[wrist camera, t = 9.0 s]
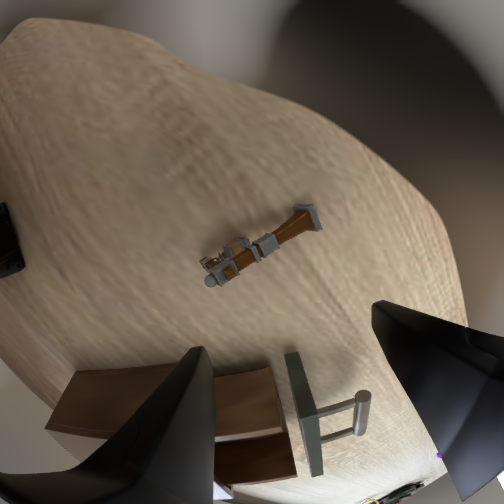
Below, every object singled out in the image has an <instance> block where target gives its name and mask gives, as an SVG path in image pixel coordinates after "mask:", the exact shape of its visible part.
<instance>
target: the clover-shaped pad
mask: <svg viewBox="0 0 504 504" xmlns="http://www.w3.org/2000/svg"><path fill="white" fill-rule="evenodd" d="M424 486H425V485H424V483H422V484H419V485H417V486H415V485H413V486H409V487H407V488H405V489H402V490H399V491H397V492H395V493H393V494H391V495H390V496H388V497H386V498H384V499H382V500H380V501H379V503H380V504H399V503H400V502H402V501H404V500H406V499H407V498H409V497H410V496H412V495H413V494H414V493H416V492H417V491H419V490H420V489H422V488H423V487H424Z"/></svg>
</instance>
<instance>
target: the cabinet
mask: <svg viewBox="0 0 504 504" xmlns="http://www.w3.org/2000/svg"><path fill="white" fill-rule="evenodd" d="M177 364H178V363H173V364H165V365H157V366H148V367H138V368H126V369H113V370H95V371H76V372H75V373H74V375H73V377H72V378H71V380H70V382H69V384H68V385H67V387H66V389H65V391H64V393H63V394H62V396H61V398H60V400H59V402H58V404H57V406H56V407H55V409H54V411H53V413H52V415H51V417H50V419H49V421H48V423H47V425H46V427H45V430H46V431H47V432H48V433H49V434H50V435H51V436H52V437H53V438H54V439H55V440H56V441H57V442H58V443H59V444H61V445H62V446H63V447H64V448H65V449H66V450H67V451H68V452H69V453H70V454H72V455H73V456H74V457H75V458H76V459H78V460H79V461H80V462H81V463H82V462H83V461H84V460H85V459H86V458H88V457H89V456H90V455H91V454H92V453H93V452H95V451H96V450H97V449H98V448H99V447H100V446H101V445H103V444H104V443H105V442H106V441H107V440H108V439H109V438H110V437H111V436H112V435H113V434H114V433H115V432H116V431H117V430H118V429H119V428H120V427H121V426H122V425H123V424H124V423H125V422H126V421H127V420H128V419H129V418H130V417H131V415H133V414H134V412H135V411H136V410H137V409H138V408H139V407H140V405H141V404H142V403H143V402H144V401H145V400H146V399H147V398H148V397H149V395H150V394H151V393H152V392H153V391H154V390H155V389H156V387H157V386H158V385H159V384H160V383H161V382H162V381H163V380H164V378H165V377H166V376H167V375H168V374H169V373H170V372H171V370H172V369H173V368H174V367H175V366H176V365H177ZM213 499H233V486H230V487H227V486H226V485H225V484H224V483H223V482H222V481H221V480H220V479H219V478H218V477H217V476H216V475H215V474H214V489H213Z"/></svg>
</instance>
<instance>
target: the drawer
mask: <svg viewBox="0 0 504 504" xmlns="http://www.w3.org/2000/svg"><path fill="white" fill-rule="evenodd" d="M284 357H285V361H286V366H287V370H288V375H289V380H290V384H291V389H292V394H293V398H294V403H295V408H296V412H297V417H298V422H299V426H300V431H301V435H302V439H303V443H304V448H305V452H306V456H307V460H308V464H309V469H310V473H311V477H316V476H320V475H323V461H322V449H321V444H322V443H326V442H329V441H333V440H336V439H339V438H342V437H346V436H349V435H352V434H354V435H355V436H361V435H363V434H364V433H365V432H366V428H367V423H368V416H369V410H370V403H371V393H370V392H369V391H367V390H360V391H358V392H357V393H356V394H355V399H354V398H352V399H349V400H346V401H343V402H340V403H337V404H334V405H330V406H327V407H323V408H320V409H316V405H315V402H314V399H313V396H312V393H311V390H310V387H309V383H308V380H307V377H306V374H305V371H304V368H303V365H302V362H301V358H300V355H299V352H295V353H291V354H287V355H285V356H284ZM214 387H215V400H216V424H215V451H214V474H215V475H216V476H217V477H218V478H219V479H220V480H221V481H222V482H223V483H224V484H225V485H226V486H227V487H230V486H242V485H252V484H260V483H267V482H273V481H279V480H285V479H290V478H295V477H297V471H296V466H295V462H294V457H293V452H292V447H291V442H290V437H289V432H288V428H287V425H286V421H285V417H284V414H283V410H282V407H281V403H280V399H279V396H278V392H277V388H276V385H275V381H274V377H273V374H272V370H271V368H270V367H268V368H264V369H259V370H254V371H249V372H244V373H238V374H233V375H227V376H221V377H215V378H214ZM353 407H354V414H353V426H352V427H351V428H348V429H344V430H341V431H338V432H335V433H332V434H328V435H325V436H321V437H320V427H319V418H321V417H324V416H328V415H331V414H335V413H338V412H341V411H344V410H347V409H350V408H353Z"/></svg>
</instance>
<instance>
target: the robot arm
mask: <svg viewBox="0 0 504 504" xmlns="http://www.w3.org/2000/svg"><path fill="white" fill-rule="evenodd" d="M24 267H25V264H24V261H23V258H22V256H21V253H20V250H19V247H18V244H17V241H16V238H15V235H14V232H13V229H12V226H11V222H10V219H9V215H8V211H7V207H6V204H5V203H4V202H2V203H0V279H1V278H4V277H6V276H9V275H11V274H14V273H16V272H19V271H21V270H23V269H24ZM371 323H372V328H373V331H374V333H375V335H376V337H377V339H378V341H379V343H380V346H381V348H382V350H383V352H384V354H385V356H386V359H387V361H388V363H389V365H390V366H391V368H392V370H393V371H394V373H395V375H396V376H397V378H398V380H399V381H400V383H401V385H402V386H403V388H404V390H405V392H406V393H407V395H408V397H409V398H410V400H411V402H412V404H413V405H414V407H415V409H416V411H417V413H418V414H419V416H420V418H421V420H422V422H423V423H424V425H425V427H426V429H427V431H428V433H429V435H430V436H431V438H432V440H433V442H434V444H435V446H436V448H437V450H438V452H439V454H440V455H441V458H442V460H443V462H444V464H445V466H446V468H447V470H448V472H449V474H450V476H451V479H452V481H453V483H454V485H455V487H456V489H457V492H458V494H459V496H460V498H461V500H462V501H465V500H466V499H467V498H469V497H470V496H472V495H473V494H475V493H476V492H477V491H479V490H480V489H481V488H483V487H484V486H485V485H486V484H488V483H489V482H490V481H491V480H493V479H494V478H495V477H496V478H497V480H498V482H499V483H500V485H501V487H502V489H503V491H504V337H500V336H496V335H492V334H488V333H484V332H480V331H477V330H474V329H471V328H468V327H466V328H465V326H462V325H459V324H456V323H452V322H449V321H446V320H443V319H440V318H437V317H434V316H431V315H428V314H425V313H422V312H419V311H416V310H413V309H410V308H406V307H403V306H400V305H397V304H394V303H391V302H388V301H385V300H381V301H378V302H375V303H373V304H372V321H371ZM215 424H216V400H215V387H214V374H213V366H212V363H211V361H210V358H209V356H208V354H207V351H206V349H205V348H204V347H203V346H197V347H192V348H191V349H190V350H189V351H188V352H187V353H186V354H185V356H184V357H183V358H182V359H181V360H180V361H179V362H178V364H177V365H176V366H175V367H174V368H173V369H172V370H171V372H170V373H169V374H168V375H167V376H166V377H165V378H164V380H163V381H162V382H161V383H160V384H159V385H158V386H157V387H156V389H155V390H154V391H153V392H152V393H151V394H150V395H149V397H148V398H147V399H146V400H145V401H144V402H143V403H142V404H141V405H140V407H139V408H138V409H137V410H136V411H135V412H134V414H133V415H131V417H130V418H129V419H128V420H127V421H126V422H125V423H124V424H123V425H122V426H121V427H120V428H119V429H118V430H117V431H116V432H115V433H114V434H113V435H112V436H111V437H110V438H109V439H108V440H107V441H106V442H105V443H104V444H103V445H101V446H100V447H99V448H98V449H97V450H96V451H95V452H93V453H92V454H91V455H90V456H89V457H88V458H86V459H85V460H84V461H83V462H82V463H80V464H79V465H78V466H76V467H75V468H72V469H70V470H66V471H61V472H51V473H37V474H6V473H1V472H0V497H1V498H2V499H3V500H5V501H6V502H8V503H9V504H213V489H214V451H215Z"/></svg>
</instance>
